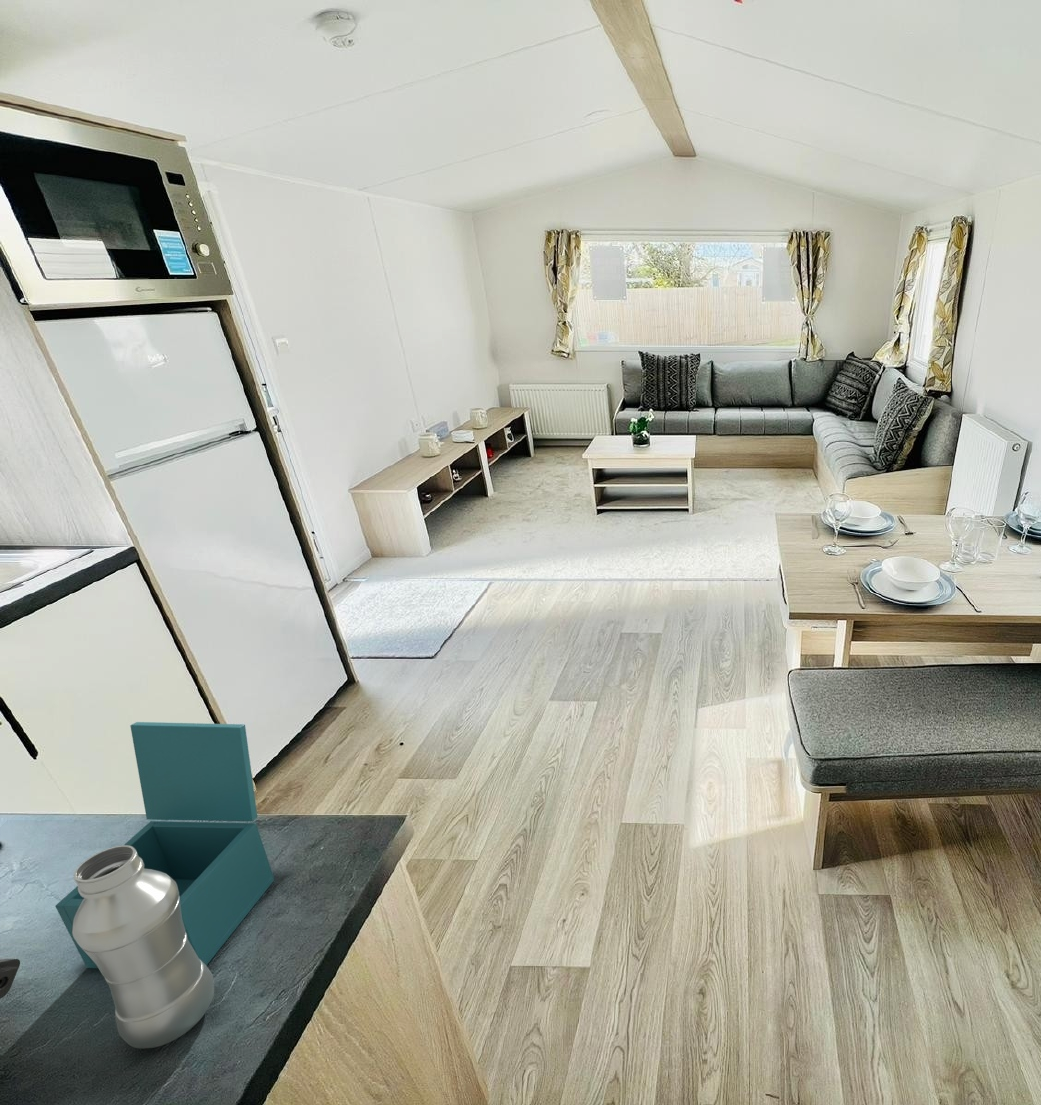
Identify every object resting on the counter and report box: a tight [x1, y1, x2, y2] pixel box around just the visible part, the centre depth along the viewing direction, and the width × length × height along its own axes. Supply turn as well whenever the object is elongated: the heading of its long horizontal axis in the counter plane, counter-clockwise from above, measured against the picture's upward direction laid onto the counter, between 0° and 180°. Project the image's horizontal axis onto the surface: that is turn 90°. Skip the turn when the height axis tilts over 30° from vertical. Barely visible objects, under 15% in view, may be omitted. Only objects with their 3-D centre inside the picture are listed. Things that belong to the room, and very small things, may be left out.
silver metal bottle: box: [72, 844, 215, 1049], centre depth 54 cm, size 6×7×20 cm
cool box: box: [55, 820, 275, 969], centre depth 66 cm, size 11×12×9 cm
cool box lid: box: [129, 721, 258, 822], centre depth 68 cm, size 11×12×1 cm
